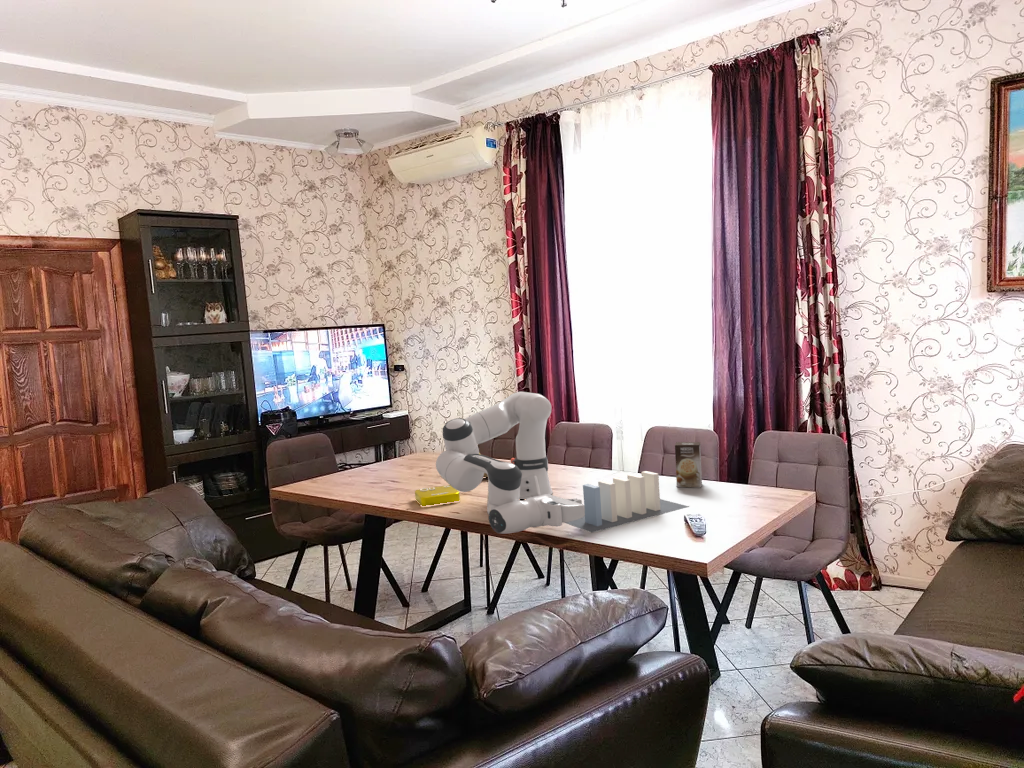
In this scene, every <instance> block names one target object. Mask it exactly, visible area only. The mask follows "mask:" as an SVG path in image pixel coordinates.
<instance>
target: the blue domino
mask: <svg viewBox="0 0 1024 768" xmlns="http://www.w3.org/2000/svg"><path fill="white" fill-rule="evenodd" d="M582 490H583V492H582V493H583V505H584V507H585V522H586V523H589V524H592V525H595V526H600V525H602V515H601V499H600V487H598V485H593V484H589V483H586V484H582Z"/></svg>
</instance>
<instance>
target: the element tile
mask: <svg viewBox="0 0 1024 768" xmlns="http://www.w3.org/2000/svg"><path fill="white" fill-rule="evenodd" d="M460 494H461V493H460V491H458V490H456V489H454V488H453V487H452V486H451V485H449V484H448V485H442V486H434V487H423V488H420V489H419V488H418V489H416V490H414V497H415V499H416V500H417V501H418V502H419V503H420V505H422V506H426V505H434V504H440V503H447V502H454V501H459V500H460V501H461V495H460ZM415 499H414V500H415ZM416 500H415V501H416Z"/></svg>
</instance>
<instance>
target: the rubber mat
mask: <svg viewBox="0 0 1024 768" xmlns="http://www.w3.org/2000/svg"><path fill="white" fill-rule="evenodd" d="M686 508H690V505H684V504H681V503H677V502H674V501H673V502H672V501H670V500H667V499H666V500H665V499H661V498H660V510H657V511H655V510H651V509H647V508H646V514H638V513H635V512H632V517H631V518H625V517H621V516H618V515H617V521H615V522H610V521H607V520H604V519H602V525H600V526H595V525H592V524H589V523H586V522H585V516H584V517H583V518H580V519H577V520H574V521H571V522H567V523H565V524H566V525H569V526H572V527H575V528H577V529H580V530H584V531H585V532H589V533H591V534H592V533H595V532H600V531H603V530H606V529H608V530H609V529H611V528H614V527H618V526H622V525H626V524H630V523H633V522H637V521H640V520H644V519H649V518H653V517H655V516H656V517H657V516H660V515H664V514H667V513H671V512H675V511H678V510H683V509H686Z"/></svg>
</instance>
